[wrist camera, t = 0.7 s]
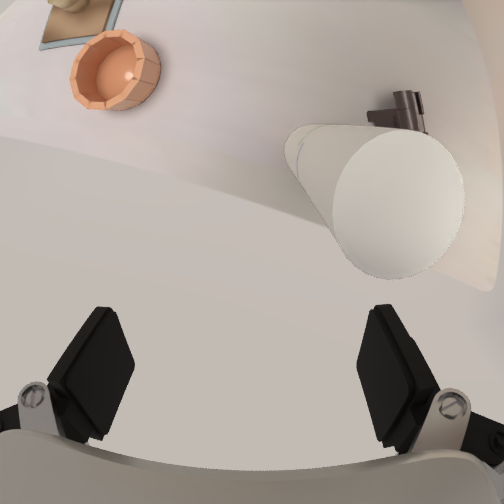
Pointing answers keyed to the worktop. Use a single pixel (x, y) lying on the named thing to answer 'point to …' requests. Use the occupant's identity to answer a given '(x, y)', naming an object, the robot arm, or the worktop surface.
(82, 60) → the terracotta bowl
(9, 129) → the worktop surface
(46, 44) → the slate mat
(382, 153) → the cylindrical container
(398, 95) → the portable electronic device stand
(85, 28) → the square wooden lid
